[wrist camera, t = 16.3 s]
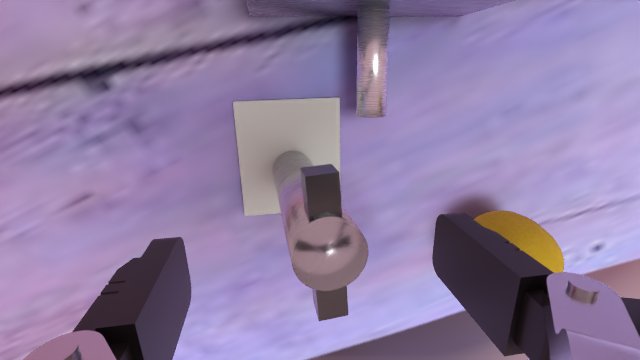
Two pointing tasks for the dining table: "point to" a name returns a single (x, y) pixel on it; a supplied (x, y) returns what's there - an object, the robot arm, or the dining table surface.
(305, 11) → the block
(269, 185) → the mat
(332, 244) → the chuck key
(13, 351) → the dining table surface
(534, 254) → the lemon
